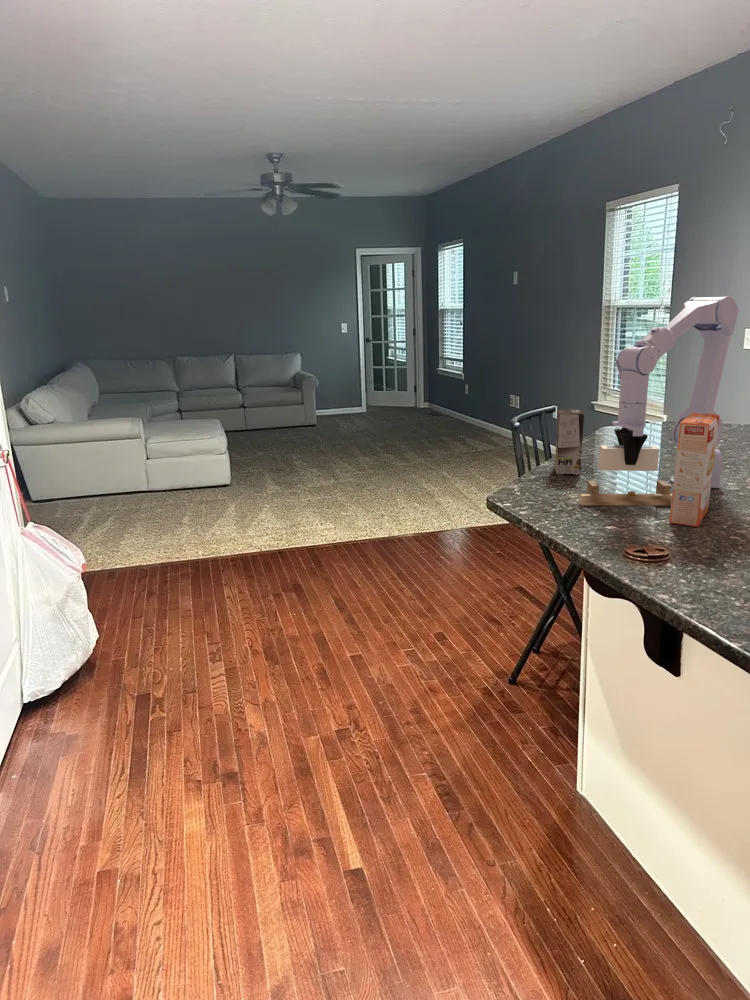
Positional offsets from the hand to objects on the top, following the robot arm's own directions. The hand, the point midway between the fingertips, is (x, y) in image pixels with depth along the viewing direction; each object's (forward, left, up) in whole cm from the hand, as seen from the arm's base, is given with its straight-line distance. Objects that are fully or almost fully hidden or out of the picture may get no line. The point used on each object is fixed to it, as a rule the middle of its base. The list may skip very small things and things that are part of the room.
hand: (628, 462), depth 159 cm
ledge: (0, +2, -8) cm, 9 cm away
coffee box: (+8, -28, -9) cm, 30 cm away
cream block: (0, 0, -2) cm, 2 cm away
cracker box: (-9, +15, -9) cm, 19 cm away
